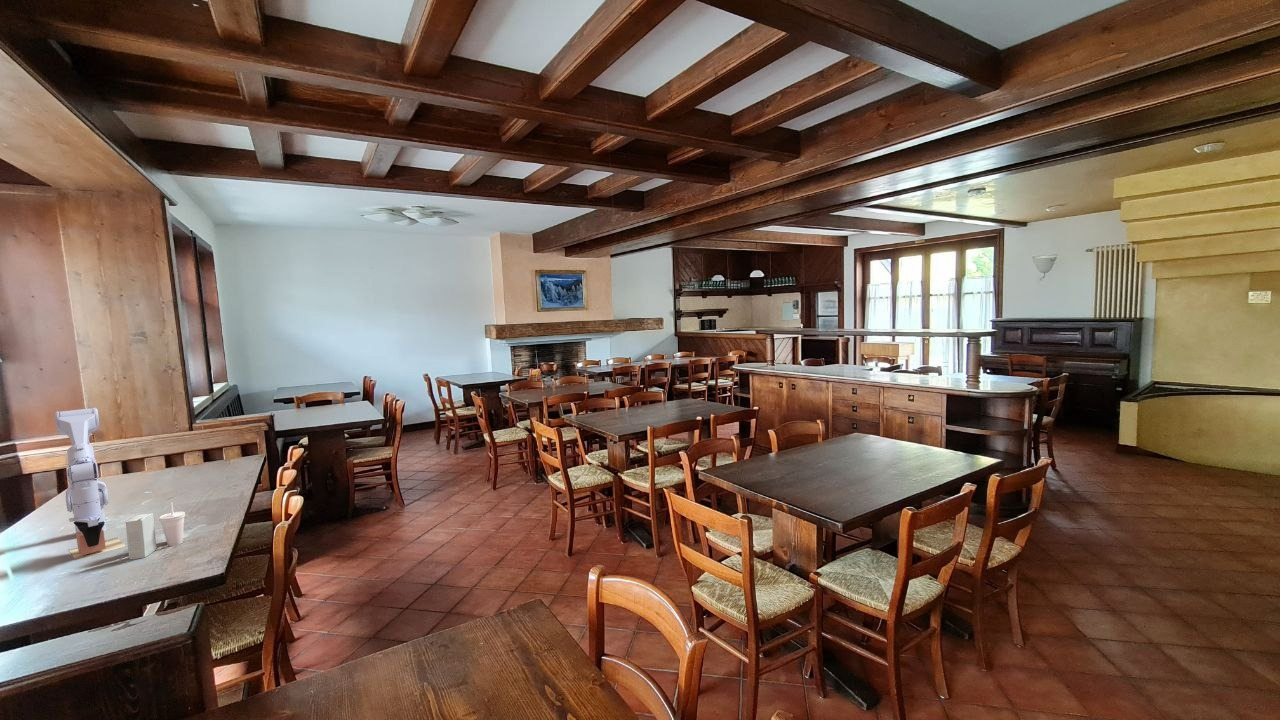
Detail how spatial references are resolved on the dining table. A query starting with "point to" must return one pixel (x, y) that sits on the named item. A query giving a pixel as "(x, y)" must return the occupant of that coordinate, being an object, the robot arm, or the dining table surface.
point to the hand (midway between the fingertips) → (91, 543)
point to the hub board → (109, 544)
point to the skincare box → (141, 536)
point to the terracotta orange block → (84, 547)
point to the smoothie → (173, 526)
